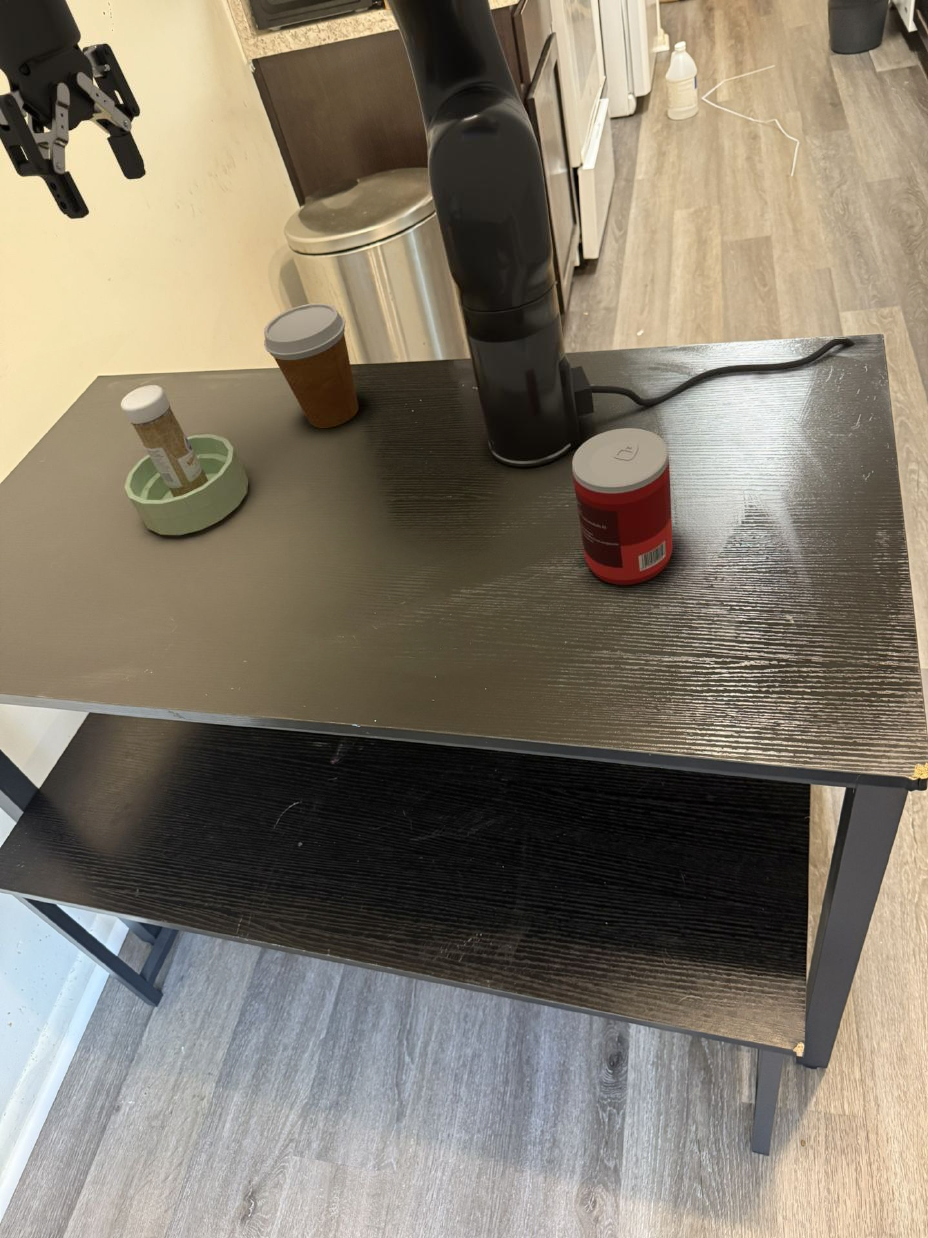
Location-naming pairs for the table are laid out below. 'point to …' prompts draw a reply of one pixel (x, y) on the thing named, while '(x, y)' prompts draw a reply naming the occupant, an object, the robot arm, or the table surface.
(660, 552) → the canned food
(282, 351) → the disposable coffee cup
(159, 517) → the bowl
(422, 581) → the table surface
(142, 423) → the sprinkles bottle
